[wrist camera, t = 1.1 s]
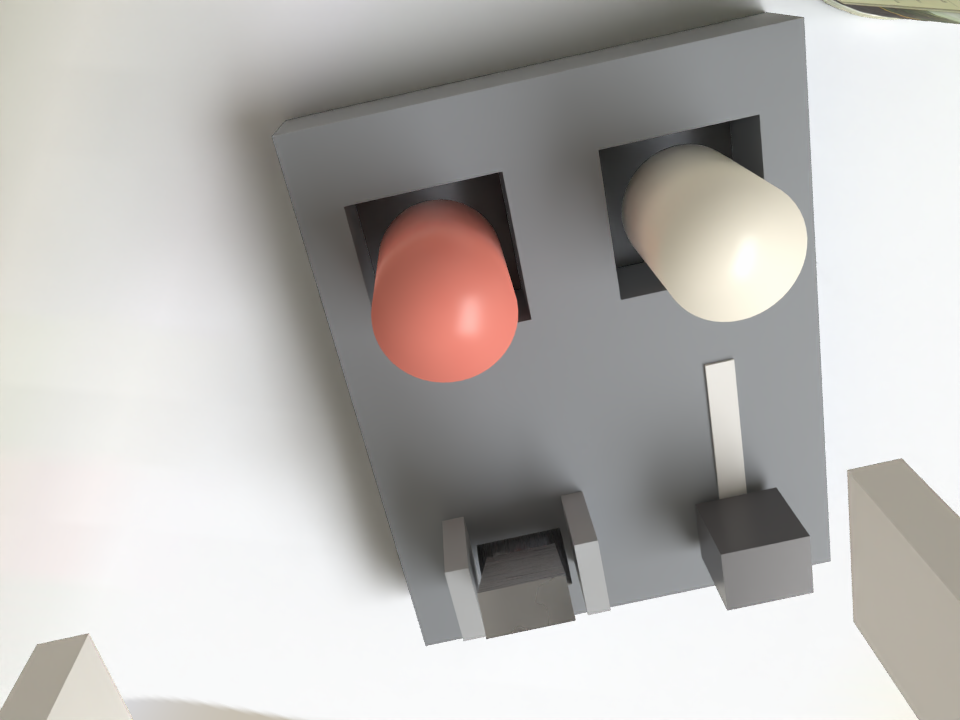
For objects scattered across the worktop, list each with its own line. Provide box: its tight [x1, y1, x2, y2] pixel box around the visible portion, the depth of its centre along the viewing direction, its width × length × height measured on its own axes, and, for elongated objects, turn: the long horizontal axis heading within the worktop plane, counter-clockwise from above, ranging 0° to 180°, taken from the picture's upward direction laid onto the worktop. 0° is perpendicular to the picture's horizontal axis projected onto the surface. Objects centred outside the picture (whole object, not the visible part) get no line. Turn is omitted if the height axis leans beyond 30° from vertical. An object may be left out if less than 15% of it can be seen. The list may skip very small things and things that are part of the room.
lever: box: [477, 528, 575, 639], centre depth 28 cm, size 2×3×9 cm, turn 103°
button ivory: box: [622, 144, 807, 322], centre depth 26 cm, size 4×4×5 cm
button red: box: [371, 199, 518, 383], centre depth 26 cm, size 4×4×5 cm
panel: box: [272, 12, 831, 646], centre depth 30 cm, size 20×16×6 cm
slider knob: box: [695, 487, 813, 610], centre depth 31 cm, size 2×3×3 cm
